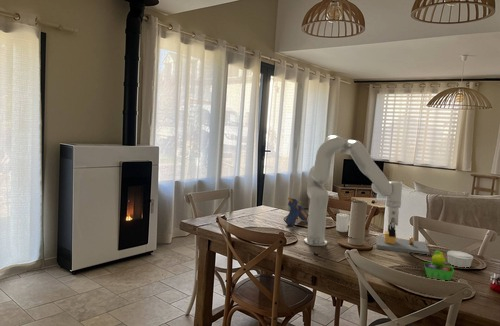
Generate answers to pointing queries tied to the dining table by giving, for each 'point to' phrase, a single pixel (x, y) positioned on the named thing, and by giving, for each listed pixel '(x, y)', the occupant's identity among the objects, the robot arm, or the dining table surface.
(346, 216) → the white cup
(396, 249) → the grey flat board
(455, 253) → the ramekin
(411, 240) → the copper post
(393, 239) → the orange cube
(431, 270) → the fruit basket
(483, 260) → the dining table surface
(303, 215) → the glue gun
